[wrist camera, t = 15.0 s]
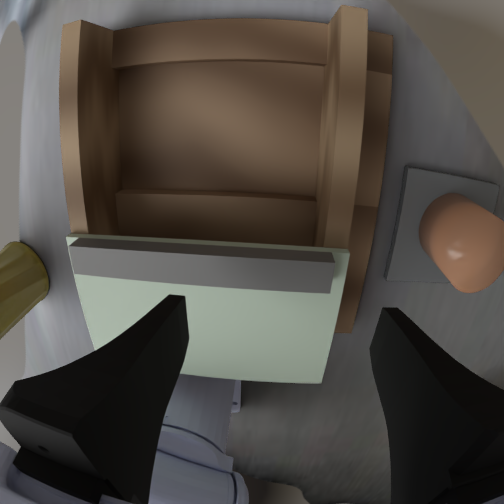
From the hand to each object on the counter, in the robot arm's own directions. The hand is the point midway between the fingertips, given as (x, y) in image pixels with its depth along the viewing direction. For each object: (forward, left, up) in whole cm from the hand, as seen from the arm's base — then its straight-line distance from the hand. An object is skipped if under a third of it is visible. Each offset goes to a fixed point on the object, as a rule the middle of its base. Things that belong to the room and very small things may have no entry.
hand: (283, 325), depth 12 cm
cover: (-4, +4, -5) cm, 7 cm away
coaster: (+1, -12, -10) cm, 16 cm away
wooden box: (+3, +4, -10) cm, 12 cm away
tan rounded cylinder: (+1, -12, -10) cm, 15 cm away
